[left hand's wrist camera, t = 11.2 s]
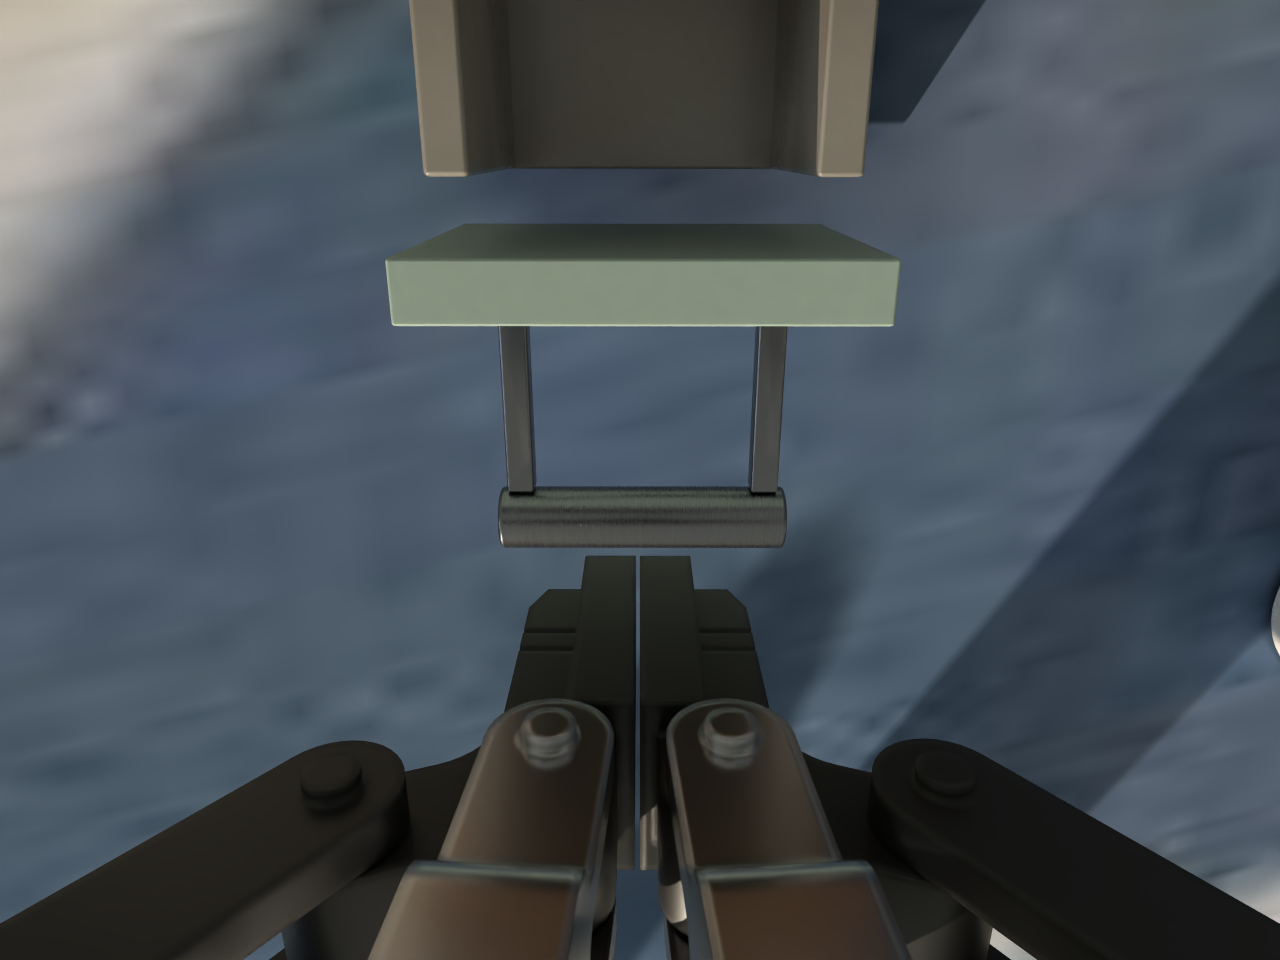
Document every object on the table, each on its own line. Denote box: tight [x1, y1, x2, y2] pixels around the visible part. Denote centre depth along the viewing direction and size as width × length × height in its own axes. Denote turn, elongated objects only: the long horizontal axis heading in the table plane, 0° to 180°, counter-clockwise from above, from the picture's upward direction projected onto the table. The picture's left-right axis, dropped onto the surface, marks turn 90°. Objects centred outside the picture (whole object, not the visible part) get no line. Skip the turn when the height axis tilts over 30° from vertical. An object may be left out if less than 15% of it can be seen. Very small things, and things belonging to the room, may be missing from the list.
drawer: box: [386, 0, 901, 548], centre depth 17 cm, size 20×9×7 cm, turn 0°
